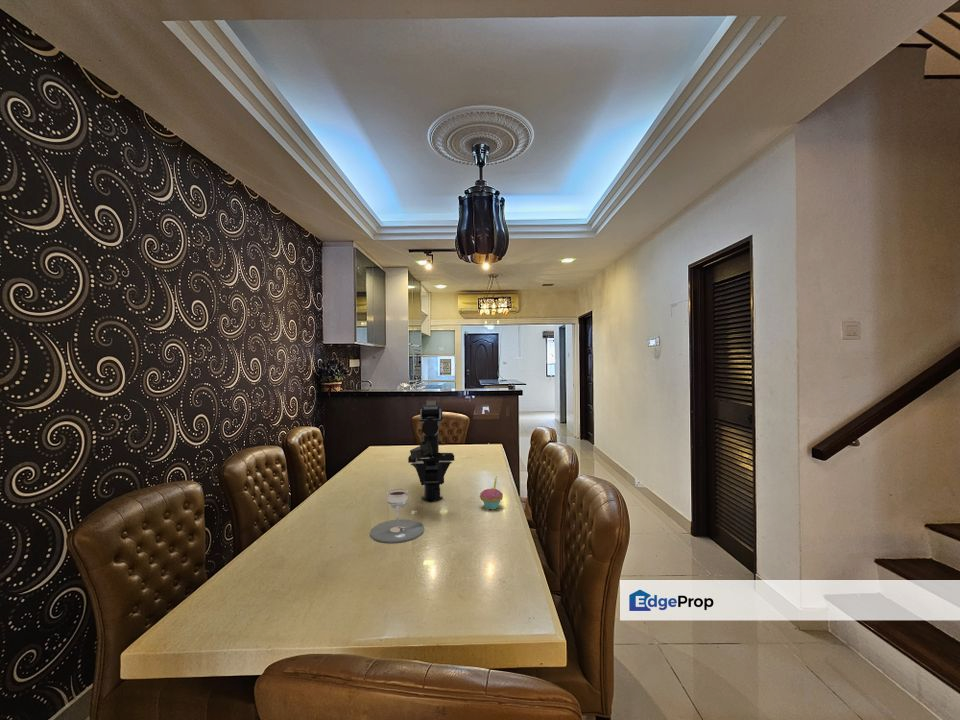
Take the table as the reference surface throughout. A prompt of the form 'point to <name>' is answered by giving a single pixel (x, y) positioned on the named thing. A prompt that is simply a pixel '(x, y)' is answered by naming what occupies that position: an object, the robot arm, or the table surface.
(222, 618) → the table surface
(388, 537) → the slate plate
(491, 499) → the cupcake
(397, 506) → the wineglass
